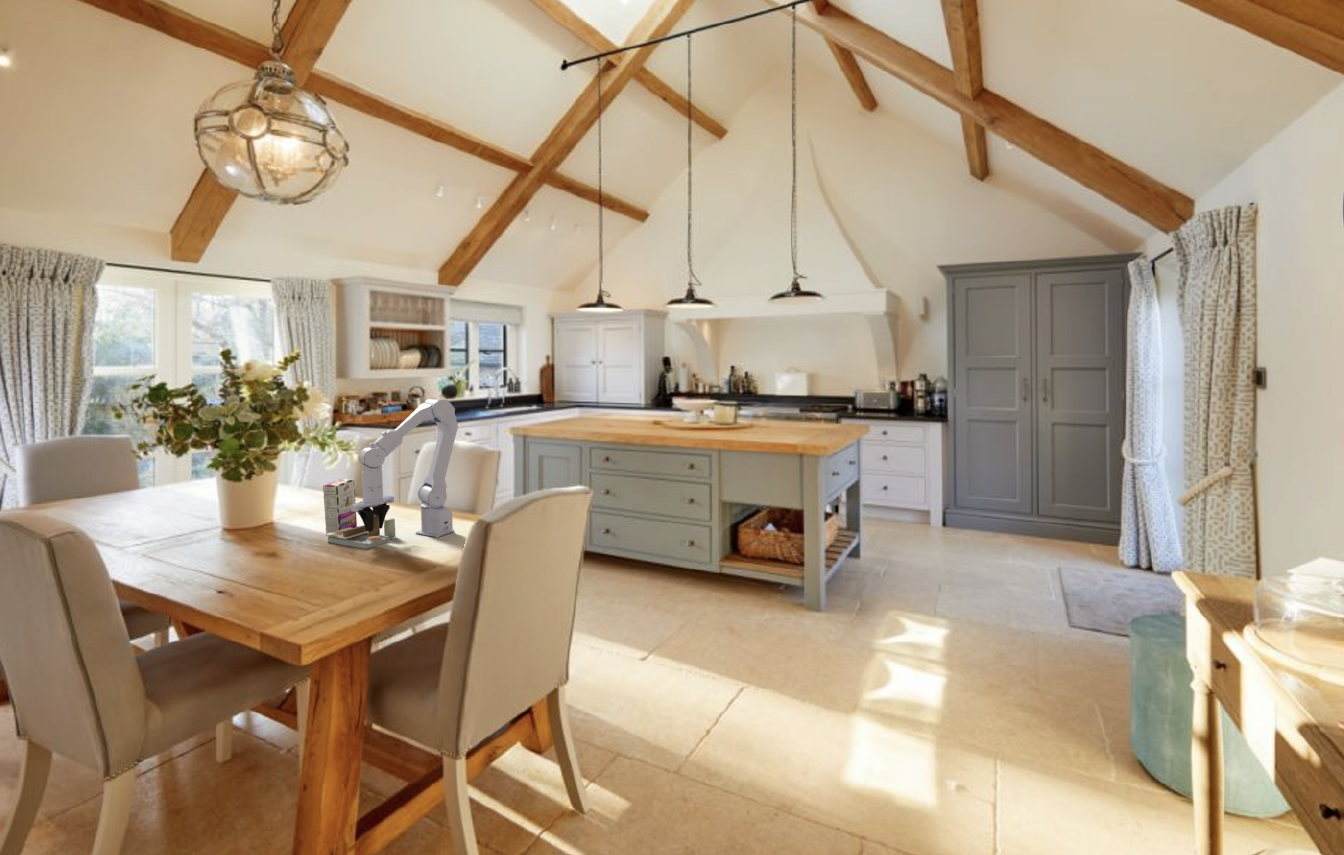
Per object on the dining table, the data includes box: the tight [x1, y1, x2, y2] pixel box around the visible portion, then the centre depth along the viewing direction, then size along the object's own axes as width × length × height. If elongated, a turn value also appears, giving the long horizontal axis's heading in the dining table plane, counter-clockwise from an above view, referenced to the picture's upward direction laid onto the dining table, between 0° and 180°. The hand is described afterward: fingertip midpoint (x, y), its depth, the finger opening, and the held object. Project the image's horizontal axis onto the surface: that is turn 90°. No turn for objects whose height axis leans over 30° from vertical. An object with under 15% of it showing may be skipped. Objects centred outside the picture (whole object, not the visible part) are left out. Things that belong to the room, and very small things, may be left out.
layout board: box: [327, 533, 390, 550], centre depth 203 cm, size 16×9×2 cm, turn 67°
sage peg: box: [383, 517, 396, 540], centre depth 208 cm, size 3×3×6 cm
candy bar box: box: [322, 478, 358, 535], centre depth 215 cm, size 11×5×16 cm, turn 179°
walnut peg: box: [368, 515, 381, 536], centre depth 202 cm, size 3×3×6 cm
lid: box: [325, 524, 368, 539], centre depth 205 cm, size 8×9×2 cm
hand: (374, 529), depth 202 cm, fingers closed on walnut peg, 3 cm apart
